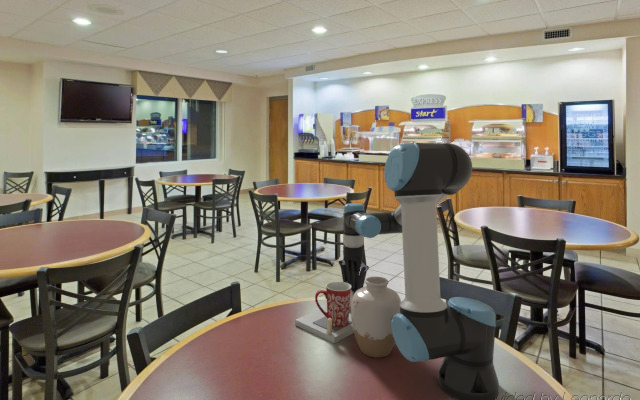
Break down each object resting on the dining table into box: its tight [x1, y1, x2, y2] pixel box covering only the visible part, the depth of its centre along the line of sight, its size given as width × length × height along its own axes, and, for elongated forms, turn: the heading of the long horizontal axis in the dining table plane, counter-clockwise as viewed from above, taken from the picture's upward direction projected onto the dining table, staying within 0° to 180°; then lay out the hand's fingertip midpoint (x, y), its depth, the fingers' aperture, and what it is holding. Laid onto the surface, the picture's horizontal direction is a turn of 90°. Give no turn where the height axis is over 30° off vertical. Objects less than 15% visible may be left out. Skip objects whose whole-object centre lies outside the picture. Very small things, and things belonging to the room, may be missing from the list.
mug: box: [314, 281, 351, 327], centre depth 133 cm, size 13×9×14 cm
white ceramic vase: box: [351, 276, 402, 359], centre depth 119 cm, size 16×16×23 cm
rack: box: [294, 305, 354, 344], centre depth 138 cm, size 19×23×7 cm
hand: (353, 305), depth 144 cm, fingers closed
